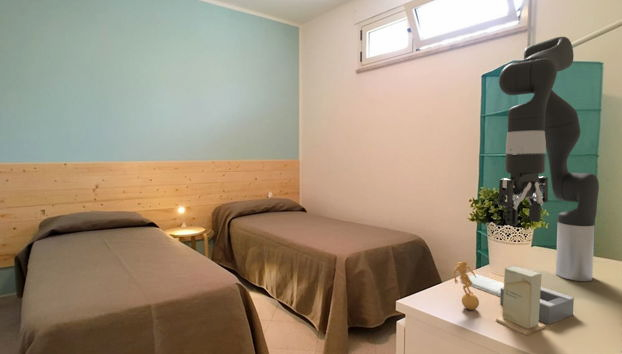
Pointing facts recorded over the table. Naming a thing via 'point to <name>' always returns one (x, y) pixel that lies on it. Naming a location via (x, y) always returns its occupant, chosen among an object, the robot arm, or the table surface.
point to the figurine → (469, 298)
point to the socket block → (551, 305)
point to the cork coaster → (520, 328)
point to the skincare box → (521, 296)
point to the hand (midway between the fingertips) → (523, 223)
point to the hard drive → (486, 284)
